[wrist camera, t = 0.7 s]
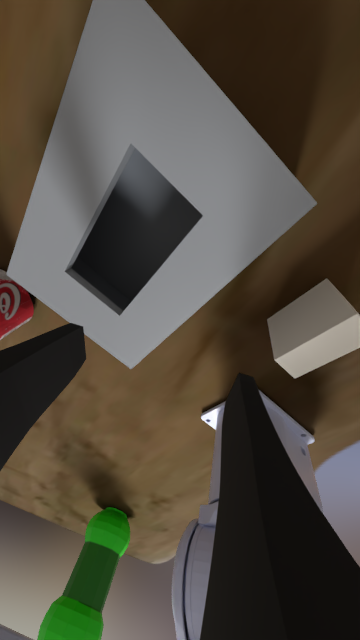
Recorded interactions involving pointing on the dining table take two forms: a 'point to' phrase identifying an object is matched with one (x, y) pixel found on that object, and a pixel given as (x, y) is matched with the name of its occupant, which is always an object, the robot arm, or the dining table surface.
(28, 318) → the beverage can
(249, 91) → the dining table surface
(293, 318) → the rectangular block
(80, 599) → the plastic bottle
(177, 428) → the dining table surface
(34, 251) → the grey peg hole base
